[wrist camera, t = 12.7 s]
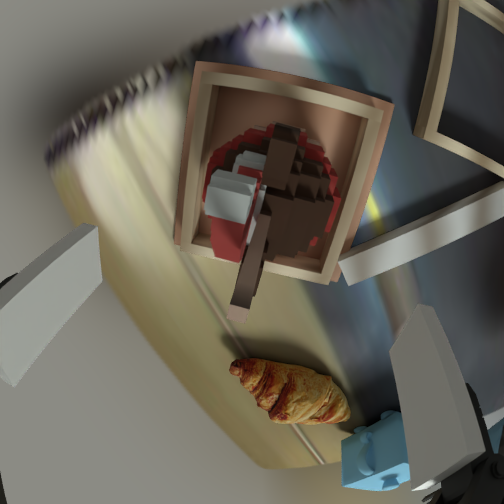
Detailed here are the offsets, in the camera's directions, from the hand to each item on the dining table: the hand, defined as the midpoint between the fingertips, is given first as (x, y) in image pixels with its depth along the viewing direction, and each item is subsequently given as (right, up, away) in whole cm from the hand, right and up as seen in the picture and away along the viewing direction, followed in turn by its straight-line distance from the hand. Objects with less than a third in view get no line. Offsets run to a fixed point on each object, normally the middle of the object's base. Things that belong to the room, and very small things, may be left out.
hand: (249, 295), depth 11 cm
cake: (+2, +8, +15) cm, 17 cm away
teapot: (+25, -27, +31) cm, 48 cm away
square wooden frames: (+12, +13, +11) cm, 21 cm away
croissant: (+6, -17, +28) cm, 34 cm away
